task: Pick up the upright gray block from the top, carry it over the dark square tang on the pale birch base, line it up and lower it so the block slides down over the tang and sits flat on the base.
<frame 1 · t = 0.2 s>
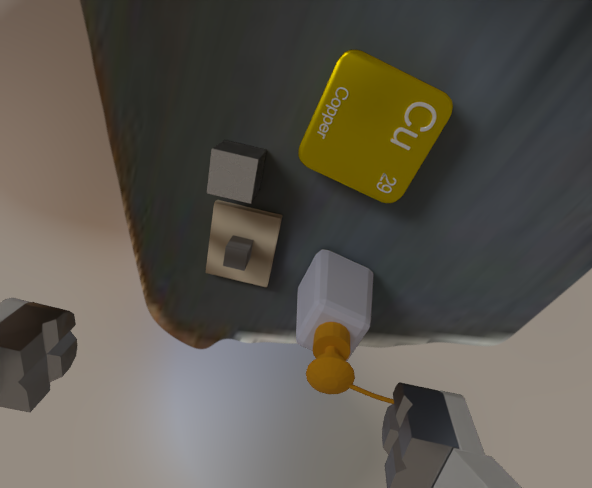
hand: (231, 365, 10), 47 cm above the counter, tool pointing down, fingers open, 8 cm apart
element tile: (370, 126, 53), on the counter
upright gray block: (242, 165, 56), on the counter
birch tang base: (243, 242, 62), on the counter
soap bottle: (347, 284, 63), on the counter
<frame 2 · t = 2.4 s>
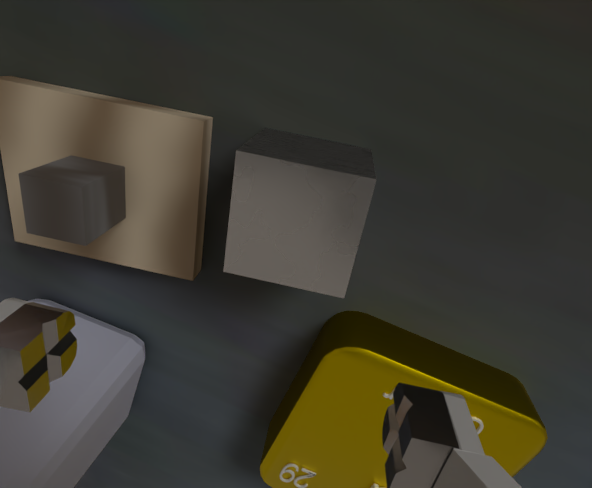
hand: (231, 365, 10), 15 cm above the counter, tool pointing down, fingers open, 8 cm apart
element tile: (385, 407, 31), on the counter
upright gray block: (307, 189, 23), on the counter
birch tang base: (113, 180, 25), on the counter
soap bottle: (84, 371, 33), on the counter
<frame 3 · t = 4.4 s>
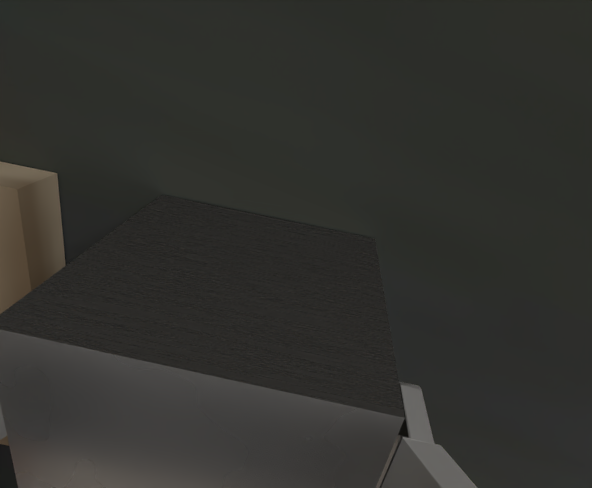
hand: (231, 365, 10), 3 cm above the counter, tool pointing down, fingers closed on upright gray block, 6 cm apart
upright gray block: (253, 305, 12), on the counter, touching gripper
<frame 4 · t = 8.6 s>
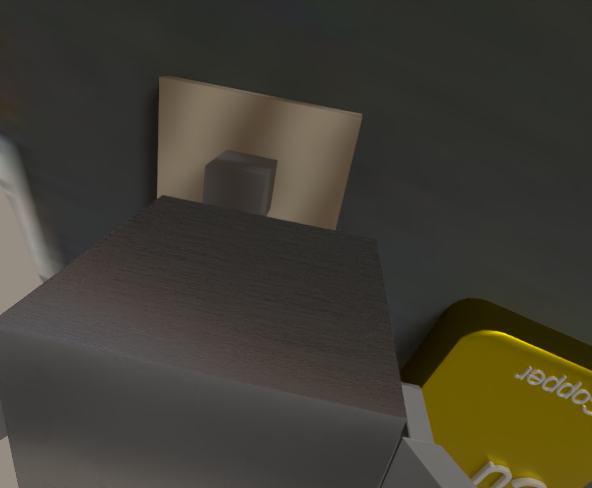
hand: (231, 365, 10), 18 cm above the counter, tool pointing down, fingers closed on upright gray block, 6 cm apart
element tile: (489, 391, 32), on the counter
upright gray block: (254, 306, 12), point 15 cm above the counter, touching gripper
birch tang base: (254, 173, 26), on the counter
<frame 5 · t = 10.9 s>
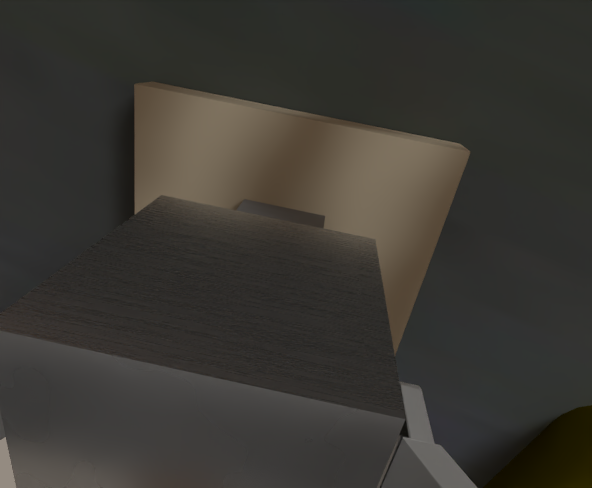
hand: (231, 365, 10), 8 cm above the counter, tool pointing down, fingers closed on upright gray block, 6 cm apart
upright gray block: (253, 306, 12), point 6 cm above the counter, touching gripper
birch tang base: (283, 229, 17), on the counter
when the fingers open (5 cm above the counter, at t = 12.7 s): upright gray block stays where it is, resting on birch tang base.
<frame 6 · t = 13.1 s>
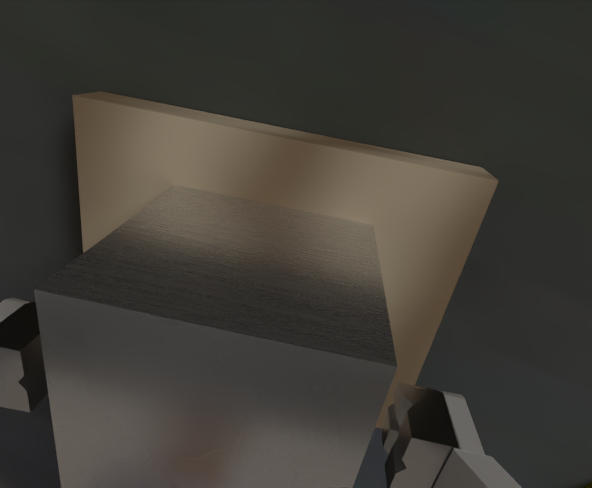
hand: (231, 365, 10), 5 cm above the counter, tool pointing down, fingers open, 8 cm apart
upright gray block: (260, 289, 13), point 1 cm above the counter, touching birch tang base
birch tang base: (266, 267, 14), on the counter
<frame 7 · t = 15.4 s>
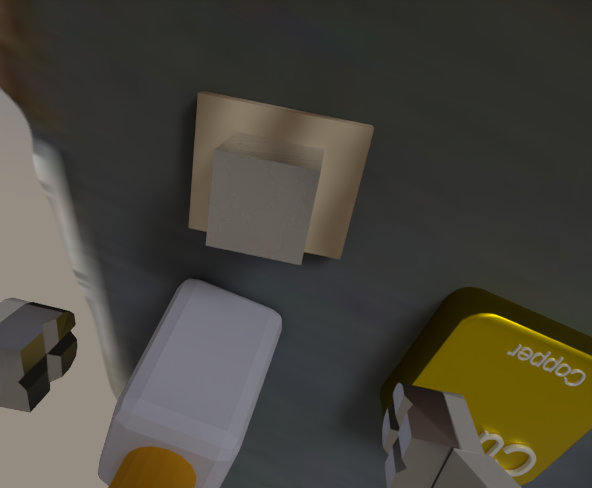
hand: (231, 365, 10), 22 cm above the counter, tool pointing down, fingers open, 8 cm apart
element tile: (483, 371, 36), on the counter
upright gray block: (274, 182, 29), point 1 cm above the counter, touching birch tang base
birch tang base: (277, 176, 30), on the counter
soap bottle: (215, 344, 38), on the counter
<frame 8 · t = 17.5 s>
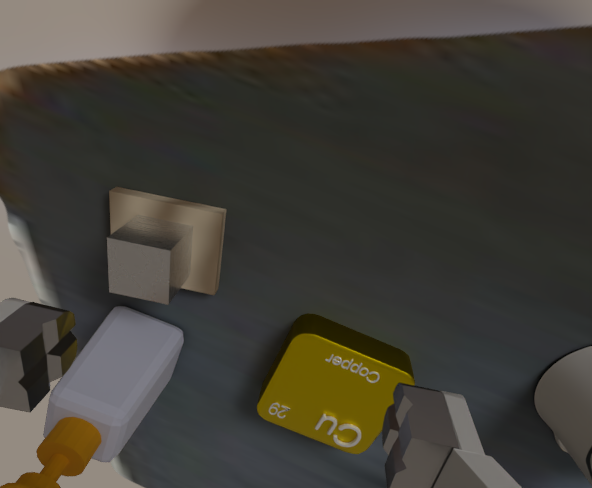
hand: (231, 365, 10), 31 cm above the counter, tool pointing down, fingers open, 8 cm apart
element tile: (333, 372, 51), on the counter
upright gray block: (164, 245, 43), point 1 cm above the counter, touching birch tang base
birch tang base: (169, 239, 44), on the counter
soap bottle: (142, 351, 52), on the counter
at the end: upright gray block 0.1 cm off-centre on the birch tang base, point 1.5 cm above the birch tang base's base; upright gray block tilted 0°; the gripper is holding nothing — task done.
